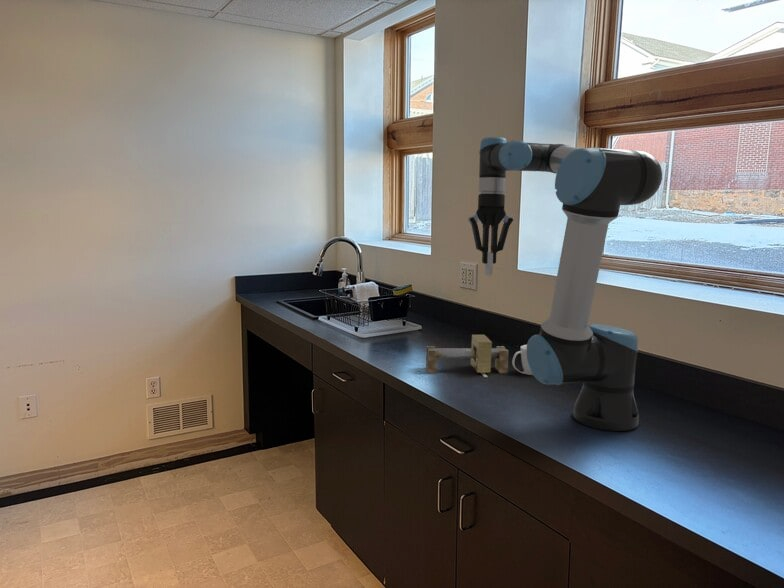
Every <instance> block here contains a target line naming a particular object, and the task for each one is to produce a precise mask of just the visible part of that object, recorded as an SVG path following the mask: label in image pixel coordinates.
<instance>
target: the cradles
mask: <svg viewBox="0 0 784 588" xmlns="http://www.w3.org/2000/svg"><path fill="white" fill-rule="evenodd" d="M428 348H436V347H435V345H431V346H429V345H427V346H426V356H425V369H426V371H427V373H428V374H433V375H434V374H437V371H438V369H437V368H438V367H437V365H438V358H437V350H429V354H428ZM495 348H506V346H504V345H501V346H499V345H497V346H495ZM494 359H495V360H494V362H495V363H494V368H495V370H496V371H497V372H498V373H499V374H508V372H509V371H508V370H509V350H508V349H506V350H500V356H499V358H494Z"/></svg>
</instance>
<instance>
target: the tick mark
mask: <svg viewBox="0 0 784 588" xmlns="http://www.w3.org/2000/svg"><path fill="white" fill-rule="evenodd" d="M480 374H481V375H482V376H483V378H488V375H487V374H486V372H480Z"/></svg>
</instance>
